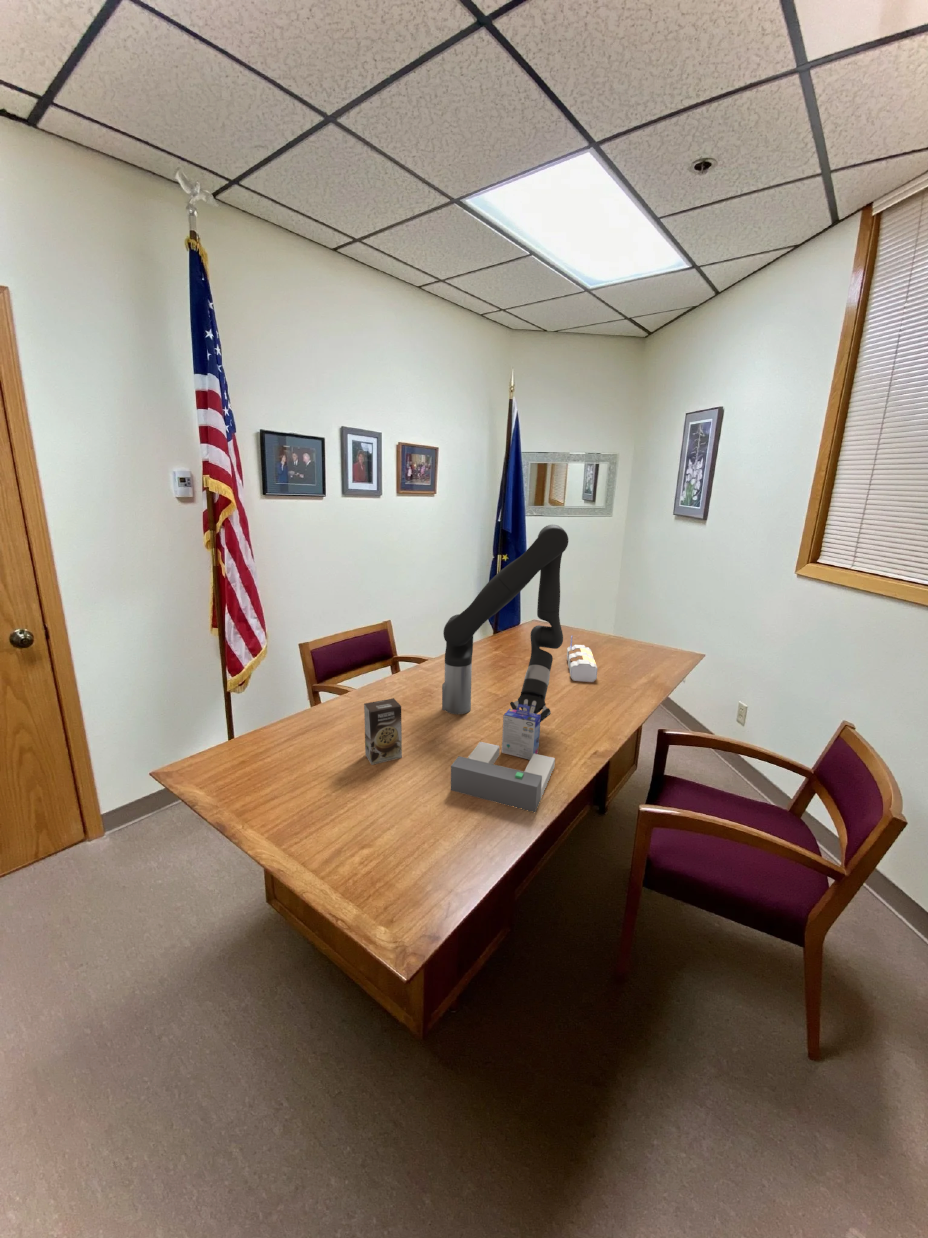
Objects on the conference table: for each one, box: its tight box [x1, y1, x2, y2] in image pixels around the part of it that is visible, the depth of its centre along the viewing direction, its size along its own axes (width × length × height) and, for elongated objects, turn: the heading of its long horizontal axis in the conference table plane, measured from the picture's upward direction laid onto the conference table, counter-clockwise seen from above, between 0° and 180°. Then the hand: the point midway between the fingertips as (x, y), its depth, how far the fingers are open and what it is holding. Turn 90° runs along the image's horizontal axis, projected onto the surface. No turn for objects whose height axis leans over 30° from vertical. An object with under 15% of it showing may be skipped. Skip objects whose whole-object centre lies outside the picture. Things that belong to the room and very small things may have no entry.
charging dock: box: [450, 741, 556, 813], centre depth 127 cm, size 22×21×8 cm
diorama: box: [566, 635, 598, 683], centre depth 205 cm, size 25×10×13 cm, turn 172°
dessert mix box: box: [363, 697, 403, 766], centre depth 135 cm, size 9×6×16 cm
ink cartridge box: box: [501, 704, 541, 761], centre depth 138 cm, size 10×6×14 cm, turn 65°
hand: (523, 735), depth 142 cm, fingers closed
